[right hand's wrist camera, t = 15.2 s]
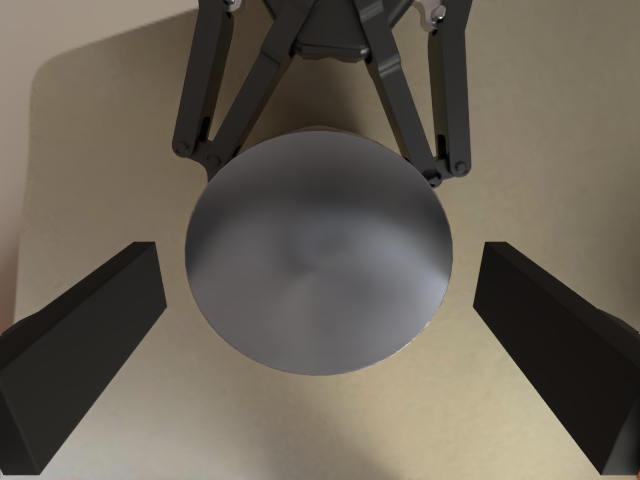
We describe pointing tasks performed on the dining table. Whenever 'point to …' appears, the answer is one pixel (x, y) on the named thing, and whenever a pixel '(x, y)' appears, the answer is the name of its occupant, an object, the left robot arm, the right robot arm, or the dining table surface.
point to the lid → (318, 252)
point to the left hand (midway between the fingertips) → (314, 271)
